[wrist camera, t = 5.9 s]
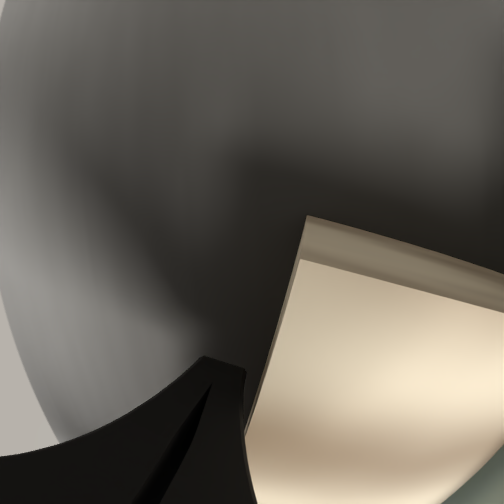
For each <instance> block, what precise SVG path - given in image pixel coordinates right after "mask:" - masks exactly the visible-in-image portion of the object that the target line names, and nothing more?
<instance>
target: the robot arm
mask: <svg viewBox="0 0 504 504" xmlns="http://www.w3.org/2000/svg"><path fill="white" fill-rule="evenodd" d="M246 374H247V372H246V371H245V369H244V368H241V367H238V366H234V365H231V364H228V363H225V362H222V361H218V360H215V359H212V358H209V357H206V356H202V357H200V358H199V359H198V360H197V361H196V362H195V363H194V364H193V365H192V366H191V367H190V368H189V369H188V370H186V371H185V372H184V373H183V374H182V375H181V376H179V377H178V378H177V379H176V380H175V381H173V382H172V383H171V384H170V385H168V386H167V387H166V388H164V389H163V390H162V391H160V392H159V393H158V394H156V395H155V396H153V397H152V398H151V399H149V400H148V401H146V402H144V403H143V404H141V405H140V406H138V407H137V408H135V409H134V410H132V411H130V412H129V413H127V414H125V415H124V416H122V417H120V418H118V419H116V420H115V421H113V422H111V423H109V424H107V425H105V426H103V427H101V428H99V429H96V430H94V431H92V432H89V433H87V434H85V435H82V436H80V437H77V438H75V439H72V440H69V441H66V442H63V443H60V444H57V445H54V446H50V447H46V448H42V449H39V450H35V451H31V452H26V453H21V454H16V455H9V456H1V457H0V504H258V503H257V499H256V496H255V492H254V488H253V484H252V479H251V475H250V470H249V464H248V458H247V451H246V444H245V435H244V421H243V391H244V382H245V377H246Z"/></svg>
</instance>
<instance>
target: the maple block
mask: <svg viewBox="0 0 504 504" xmlns="http://www.w3.org/2000/svg"><path fill="white" fill-rule="evenodd" d="M244 435H245V444H246V451H247V458H248V464H249V470H250V475H251V479H252V484H253V488H254V492H255V496H256V499H257V503H258V504H441V503H442V502H444V501H445V500H446V499H447V498H448V497H450V496H451V495H452V494H453V493H454V492H456V491H457V490H458V489H459V488H460V487H461V486H462V485H464V484H465V483H466V482H467V481H468V480H469V479H470V478H471V477H472V476H473V475H474V474H476V473H477V472H478V471H479V470H480V469H481V468H482V467H483V466H484V465H485V464H486V463H487V462H488V461H489V460H490V459H491V458H492V457H493V456H494V454H495V453H496V452H497V451H498V450H499V449H500V448H501V447H502V446H503V445H504V274H501V273H498V272H495V271H493V270H490V269H487V268H484V267H481V266H478V265H475V264H472V263H469V262H466V261H463V260H460V259H457V258H454V257H451V256H448V255H444V254H441V253H438V252H435V251H432V250H429V249H425V248H422V247H419V246H416V245H412V244H409V243H406V242H402V241H399V240H396V239H392V238H389V237H385V236H382V235H378V234H375V233H371V232H368V231H364V230H361V229H357V228H354V227H350V226H346V225H343V224H339V223H335V222H332V221H328V220H324V219H321V218H317V217H313V216H309V215H307V217H306V221H305V225H304V229H303V233H302V237H301V241H300V244H299V248H298V252H297V256H296V259H295V263H294V267H293V271H292V274H291V278H290V282H289V285H288V289H287V292H286V296H285V300H284V303H283V307H282V310H281V314H280V317H279V321H278V324H277V327H276V331H275V334H274V338H273V341H272V344H271V348H270V351H269V354H268V358H267V361H266V364H265V368H264V371H263V374H262V377H261V381H260V384H259V387H258V390H257V393H256V396H255V400H254V403H253V406H252V409H251V412H250V415H249V418H248V421H247V424H246V427H245V430H244Z"/></svg>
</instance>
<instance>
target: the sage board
mask: <svg viewBox="0 0 504 504" xmlns="http://www.w3.org/2000/svg"><path fill="white" fill-rule="evenodd" d="M441 504H504V445H503V446H502V447H501V448H500V449H499V450H498V451H497V452H496V453H495V454H494V456H493V457H492V458H491V459H490V460H489V461H488V462H487V463H486V464H485V465H484V466H483V467H482V468H481V469H480V470H479V471H478V472H477V473H476V474H474V475H473V476H472V477H471V478H470V479H469V480H468V481H467V482H466V483H465V484H464V485H462V486H461V487H460V488H459V489H458V490H457V491H456V492H454V493H453V494H452V495H451V496H450V497H448V498H447V499H446V500H445V501H444V502H442V503H441Z"/></svg>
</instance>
